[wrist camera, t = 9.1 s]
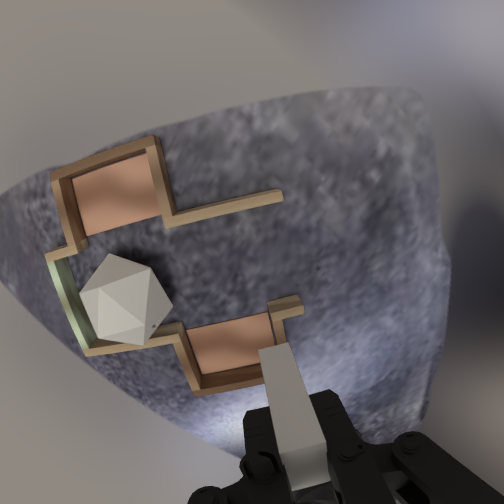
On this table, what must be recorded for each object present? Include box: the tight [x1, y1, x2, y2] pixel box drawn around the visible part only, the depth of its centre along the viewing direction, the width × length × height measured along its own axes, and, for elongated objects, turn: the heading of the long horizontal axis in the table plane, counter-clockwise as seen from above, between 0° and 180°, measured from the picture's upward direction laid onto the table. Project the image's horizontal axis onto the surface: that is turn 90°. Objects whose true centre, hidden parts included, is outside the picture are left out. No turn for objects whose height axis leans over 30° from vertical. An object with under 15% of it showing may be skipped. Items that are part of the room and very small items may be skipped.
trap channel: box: [44, 135, 305, 397], centre depth 32 cm, size 29×26×3 cm
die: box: [79, 253, 173, 346], centre depth 29 cm, size 8×9×10 cm
